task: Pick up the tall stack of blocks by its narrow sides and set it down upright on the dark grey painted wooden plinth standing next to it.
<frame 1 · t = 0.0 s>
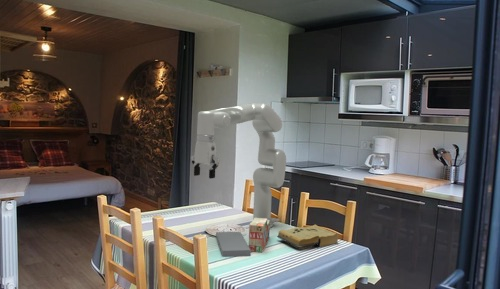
hand: (204, 176, 172), 31 cm above the table, tool pointing down, fingers open, 9 cm apart
grey plinth: (232, 245, 174), on the table
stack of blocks: (259, 245, 178), on the table
book: (307, 243, 184), on the table
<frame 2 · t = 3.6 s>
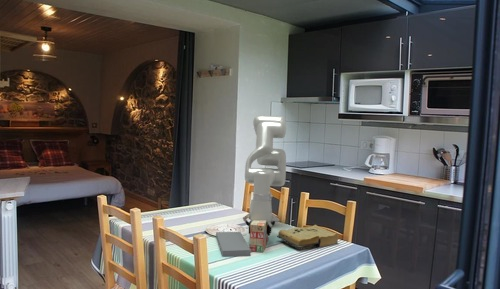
hand: (259, 234, 177), 5 cm above the table, tool pointing down, fingers closed on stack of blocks, 7 cm apart
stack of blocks: (259, 244, 178), on the table, touching gripper
everything else where it was.
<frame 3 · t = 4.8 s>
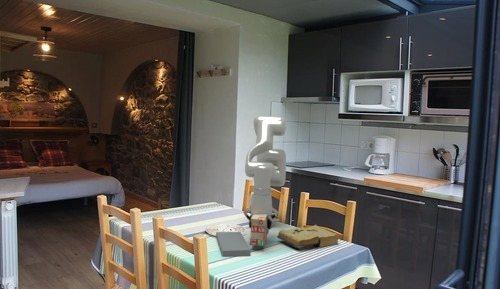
hand: (260, 228, 178), 7 cm above the table, tool pointing down, fingers closed on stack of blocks, 7 cm apart
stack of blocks: (259, 238, 179), point 2 cm above the table, touching gripper
everything else where it was.
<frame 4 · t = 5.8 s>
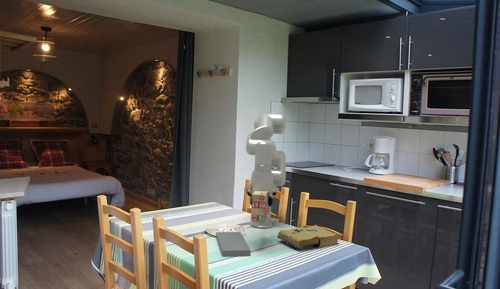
hand: (261, 205, 177), 18 cm above the table, tool pointing down, fingers closed on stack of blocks, 7 cm apart
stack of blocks: (260, 215, 178), point 13 cm above the table, touching gripper
everything else where it was.
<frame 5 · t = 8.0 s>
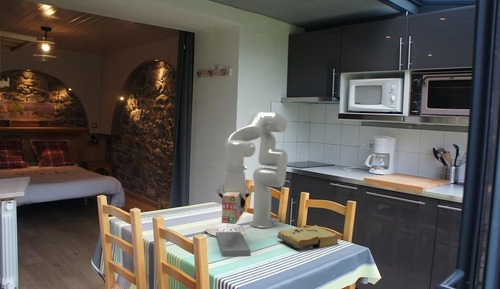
hand: (233, 207, 173), 18 cm above the table, tool pointing down, fingers closed on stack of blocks, 7 cm apart
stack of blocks: (233, 217, 174), point 13 cm above the table, touching gripper
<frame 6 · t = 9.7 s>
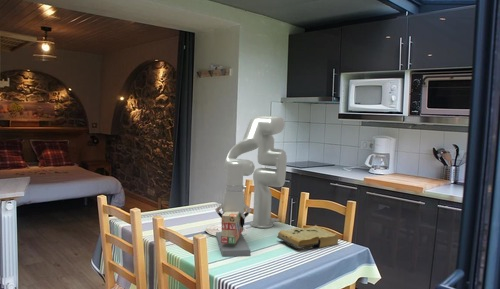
hand: (232, 226, 173), 9 cm above the table, tool pointing down, fingers closed on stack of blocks, 7 cm apart
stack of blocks: (232, 236, 174), point 4 cm above the table, touching gripper
when the fingers open (8 cm above the table, at t = 11.0 s): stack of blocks drops 1 cm, resting on grey plinth.
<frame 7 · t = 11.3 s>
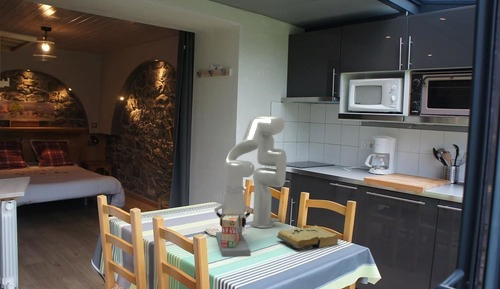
hand: (232, 226, 173), 9 cm above the table, tool pointing down, fingers open, 9 cm apart
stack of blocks: (232, 240, 175), point 2 cm above the table, touching grey plinth
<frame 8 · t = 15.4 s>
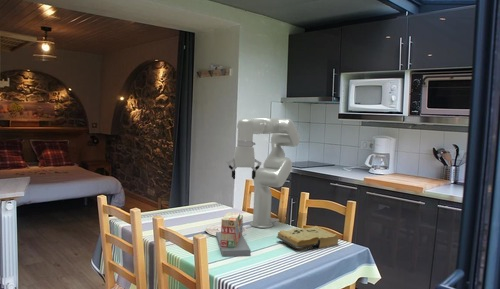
hand: (243, 178, 189), 28 cm above the table, tool pointing down, fingers open, 9 cm apart
at the end: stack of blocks inside the target area on the grey plinth (1.0 cm from its centre), point 2.3 cm above the grey plinth's base; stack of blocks tilted 0°; the gripper is holding nothing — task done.
